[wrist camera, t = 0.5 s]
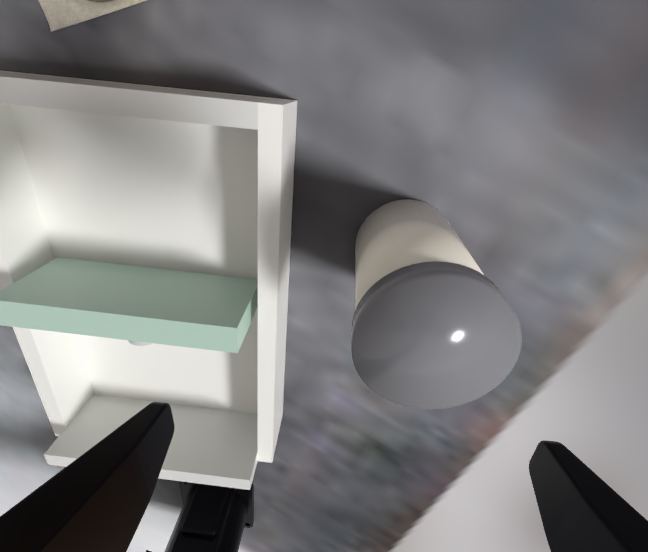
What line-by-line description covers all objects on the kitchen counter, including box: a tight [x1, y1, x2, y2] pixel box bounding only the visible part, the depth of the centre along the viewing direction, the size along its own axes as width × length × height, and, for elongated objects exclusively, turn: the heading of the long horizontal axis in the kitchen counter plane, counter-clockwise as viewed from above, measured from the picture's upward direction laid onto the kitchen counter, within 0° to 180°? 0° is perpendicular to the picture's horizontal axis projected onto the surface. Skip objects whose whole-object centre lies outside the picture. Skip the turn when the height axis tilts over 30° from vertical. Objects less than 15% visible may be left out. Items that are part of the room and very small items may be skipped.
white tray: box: [0, 70, 297, 490], centre depth 21 cm, size 22×15×6 cm
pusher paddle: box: [0, 257, 258, 353], centre depth 20 cm, size 3×12×5 cm, turn 85°
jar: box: [352, 199, 522, 409], centre depth 17 cm, size 6×6×9 cm
